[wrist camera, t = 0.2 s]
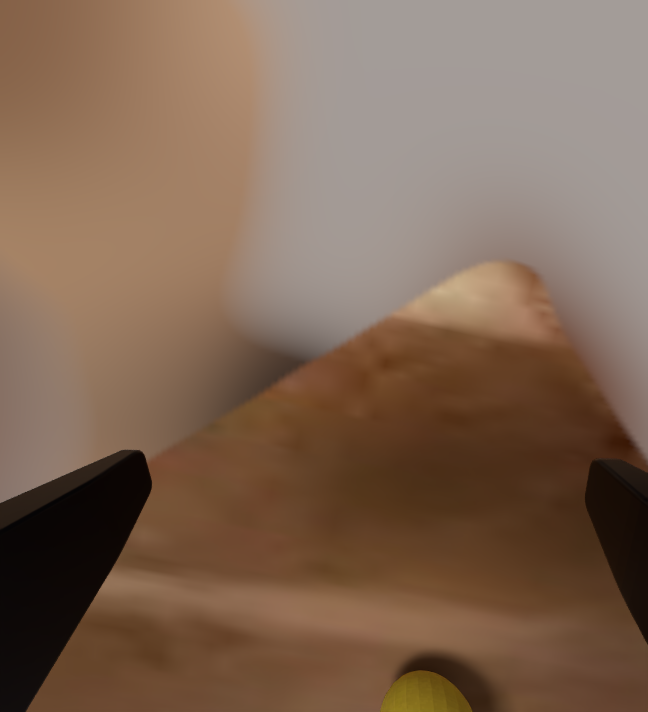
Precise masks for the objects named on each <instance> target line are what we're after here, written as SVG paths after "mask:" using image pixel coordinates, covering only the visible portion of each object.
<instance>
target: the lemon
mask: <svg viewBox="0 0 648 712" xmlns="http://www.w3.org/2000/svg"><path fill="white" fill-rule="evenodd" d="M380 712H473V711H472V709H471V707H470V705H469V703H468V702H467V700H466V699H465V697H464V696H463V695H462V694H461V692H460V691H459V690H458V689H457V687H456V686H454V685H453V684H452V683H451V682H450V681H448V680H447V679H446V678H445V677H443V676H441V675H439V674H437V673H434V672H430V671H423V670H418V671H412V672H409V673H407V674H405V675H403V676H401V677H400V678H399V679H398V680H397V681H395V682H394V683H393V685H392V686H391V687H390V689H389V690H388V692H387V693H386V695H385V697H384V700H383V703H382V707H381V710H380Z"/></svg>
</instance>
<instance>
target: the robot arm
mask: <svg viewBox="0 0 648 712" xmlns="http://www.w3.org/2000/svg"><path fill="white" fill-rule="evenodd" d="M151 488H152V480H151V476H150V473H149V469H148V465H147V462H146V458H145V455H144V454H143V452H142V451H140V450H121V451H119V452H117V453H114V454H112V455H110V456H107V457H105V458H103V459H100V460H98V461H96V462H94V463H91V464H89V465H87V466H84V467H82V468H80V469H77V470H75V471H73V472H71V473H68V474H66V475H64V476H61V477H59V478H57V479H55V480H52V481H50V482H48V483H46V484H43V485H41V486H39V487H37V488H34V489H32V490H30V491H27V492H25V493H22V494H20V495H18V496H16V497H13V498H11V499H9V500H6V501H4V502H2V503H0V712H26V710H27V709H28V707H29V705H30V704H31V702H32V700H33V699H34V697H35V695H36V694H37V692H38V690H39V689H40V687H41V686H42V684H43V682H44V681H45V679H46V677H47V676H48V674H49V672H50V671H51V669H52V667H53V666H54V664H55V662H56V661H57V659H58V657H59V656H60V654H61V652H62V651H63V649H64V647H65V646H66V644H67V642H68V641H69V639H70V637H71V636H72V634H73V632H74V631H75V629H76V628H77V626H78V624H79V623H80V621H81V619H82V618H83V616H84V614H85V613H86V611H87V609H88V608H89V606H90V604H91V603H92V601H93V599H94V598H95V596H96V594H97V593H98V591H99V589H100V588H101V586H102V584H103V583H104V581H105V579H106V578H107V576H108V574H109V573H110V571H111V570H112V568H113V566H114V564H115V563H116V561H117V559H118V557H119V555H120V554H121V552H122V550H123V548H124V546H125V544H126V542H127V540H128V538H129V536H130V533H131V531H132V529H133V527H134V525H135V523H136V521H137V519H138V517H139V515H140V513H141V511H142V509H143V507H144V505H145V503H146V501H147V499H148V496H149V494H150V492H151ZM585 503H586V508H587V511H588V513H589V516H590V518H591V521H592V523H593V526H594V528H595V531H596V533H597V536H598V538H599V541H600V543H601V546H602V548H603V551H604V553H605V556H606V558H607V561H608V563H609V566H610V568H611V571H612V573H613V576H614V578H615V581H616V583H617V585H618V588H619V590H620V592H621V594H622V596H623V598H624V600H625V602H626V604H627V606H628V608H629V610H630V612H631V614H632V616H633V618H634V620H635V622H636V624H637V625H638V627H639V629H640V631H641V633H642V635H643V637H644V639H645V641H646V643H647V644H648V473H647V472H645V471H643V470H641V469H639V468H637V467H635V466H633V465H631V464H629V463H627V462H625V461H623V460H620V459H595V460H593V461H592V463H591V465H590V470H589V475H588V481H587V487H586V493H585Z"/></svg>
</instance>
